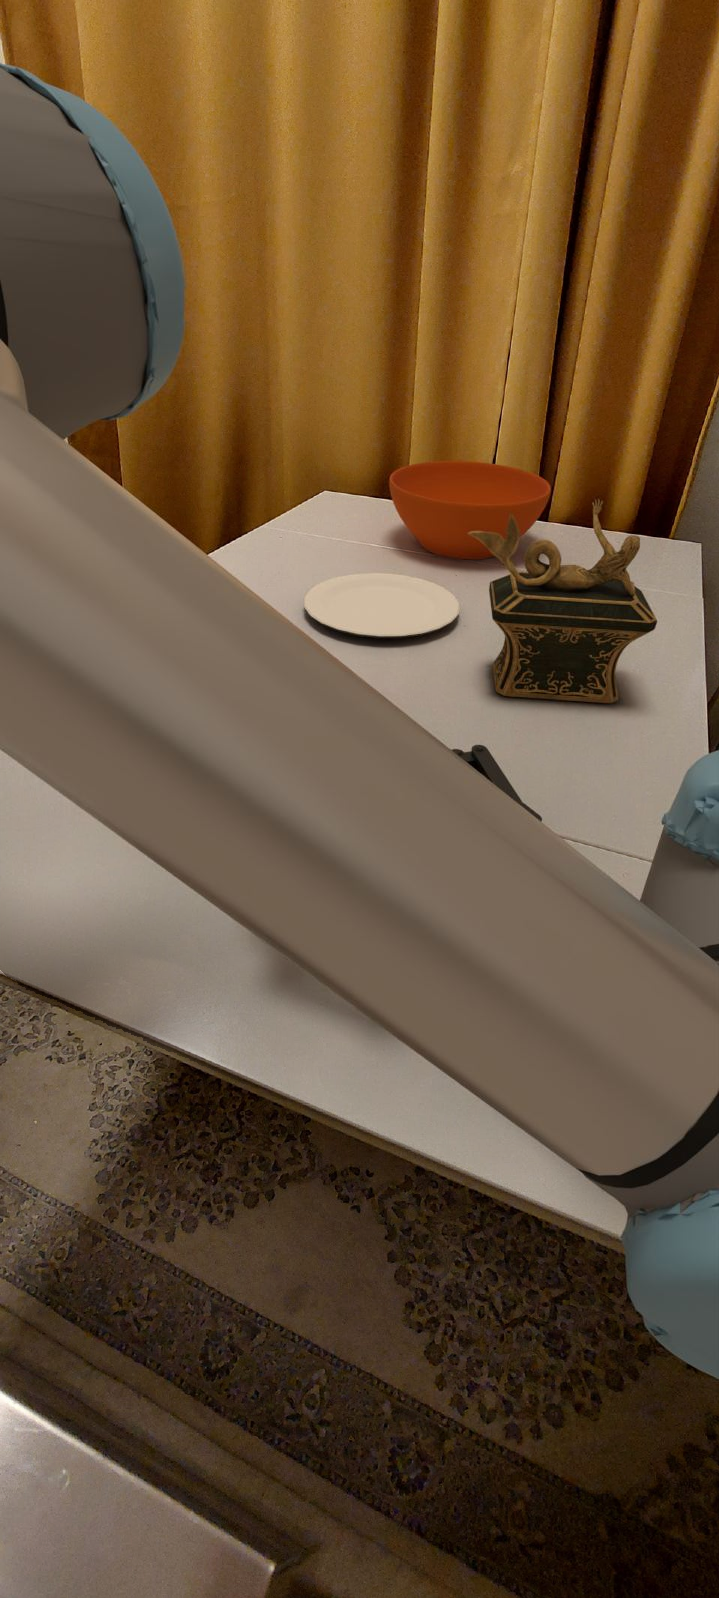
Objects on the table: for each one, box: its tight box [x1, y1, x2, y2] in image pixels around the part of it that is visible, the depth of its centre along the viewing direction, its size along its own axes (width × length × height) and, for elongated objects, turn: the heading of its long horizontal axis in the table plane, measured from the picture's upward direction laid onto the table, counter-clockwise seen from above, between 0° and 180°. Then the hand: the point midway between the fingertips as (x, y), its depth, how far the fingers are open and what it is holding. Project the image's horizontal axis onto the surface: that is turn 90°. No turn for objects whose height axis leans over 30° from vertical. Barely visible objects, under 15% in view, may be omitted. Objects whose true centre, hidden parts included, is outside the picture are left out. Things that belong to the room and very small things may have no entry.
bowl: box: [388, 460, 552, 560], centre depth 122 cm, size 25×25×10 cm
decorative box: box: [468, 498, 658, 704], centre depth 82 cm, size 20×10×20 cm, turn 85°
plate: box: [303, 572, 461, 639], centre depth 101 cm, size 21×21×2 cm
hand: (316, 758), depth 58 cm, fingers open, 13 cm apart
